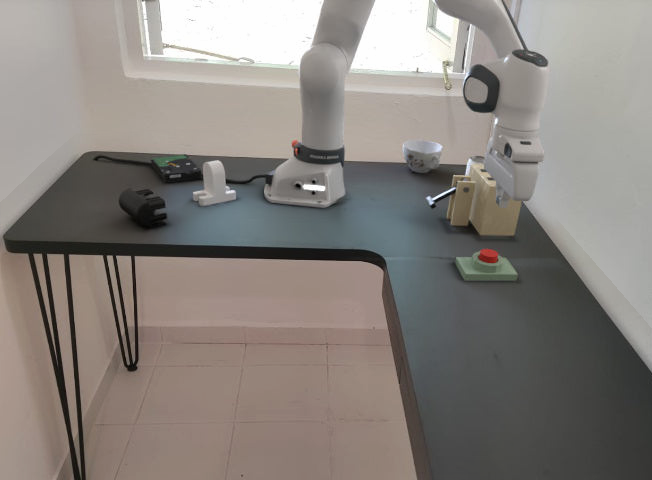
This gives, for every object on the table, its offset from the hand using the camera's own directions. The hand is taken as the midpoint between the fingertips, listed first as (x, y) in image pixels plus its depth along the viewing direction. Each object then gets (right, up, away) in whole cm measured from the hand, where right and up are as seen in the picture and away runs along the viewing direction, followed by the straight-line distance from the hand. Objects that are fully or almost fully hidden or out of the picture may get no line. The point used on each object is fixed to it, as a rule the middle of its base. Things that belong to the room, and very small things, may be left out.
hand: (500, 205), depth 126 cm
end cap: (-81, -1, +15) cm, 83 cm away
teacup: (-12, +22, +64) cm, 69 cm away
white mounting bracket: (-69, +7, +30) cm, 75 cm away
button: (-2, -11, +7) cm, 13 cm away
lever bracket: (-6, 0, +29) cm, 29 cm away
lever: (-8, +6, +24) cm, 26 cm away
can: (+1, +10, +47) cm, 48 cm away
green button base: (-2, -14, +8) cm, 16 cm away
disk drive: (-83, +17, +43) cm, 96 cm away
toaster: (+3, 0, +30) cm, 31 cm away
